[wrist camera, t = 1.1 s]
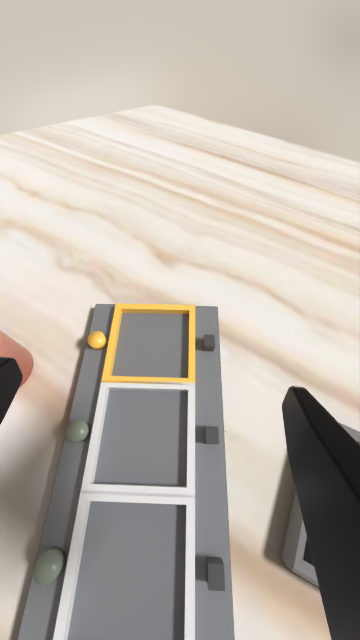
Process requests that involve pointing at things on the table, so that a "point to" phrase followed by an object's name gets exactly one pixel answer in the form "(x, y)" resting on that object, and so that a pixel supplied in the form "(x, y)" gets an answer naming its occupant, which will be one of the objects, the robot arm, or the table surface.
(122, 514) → the breaker panel
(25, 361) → the reddish brown cylinder
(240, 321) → the table surface
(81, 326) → the table surface
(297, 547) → the electronic device
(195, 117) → the table surface
